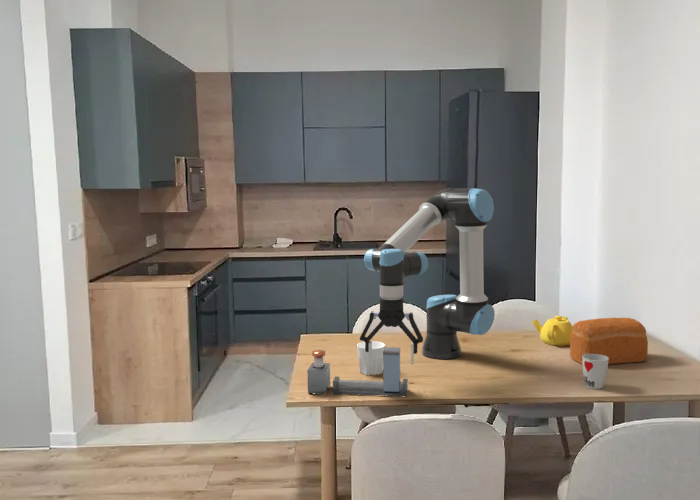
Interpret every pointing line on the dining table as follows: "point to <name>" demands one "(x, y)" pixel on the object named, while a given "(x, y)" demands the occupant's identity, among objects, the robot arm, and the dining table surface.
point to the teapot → (555, 331)
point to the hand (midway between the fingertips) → (391, 362)
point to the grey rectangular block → (391, 369)
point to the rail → (369, 392)
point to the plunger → (318, 358)
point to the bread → (610, 340)
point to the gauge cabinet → (319, 379)
